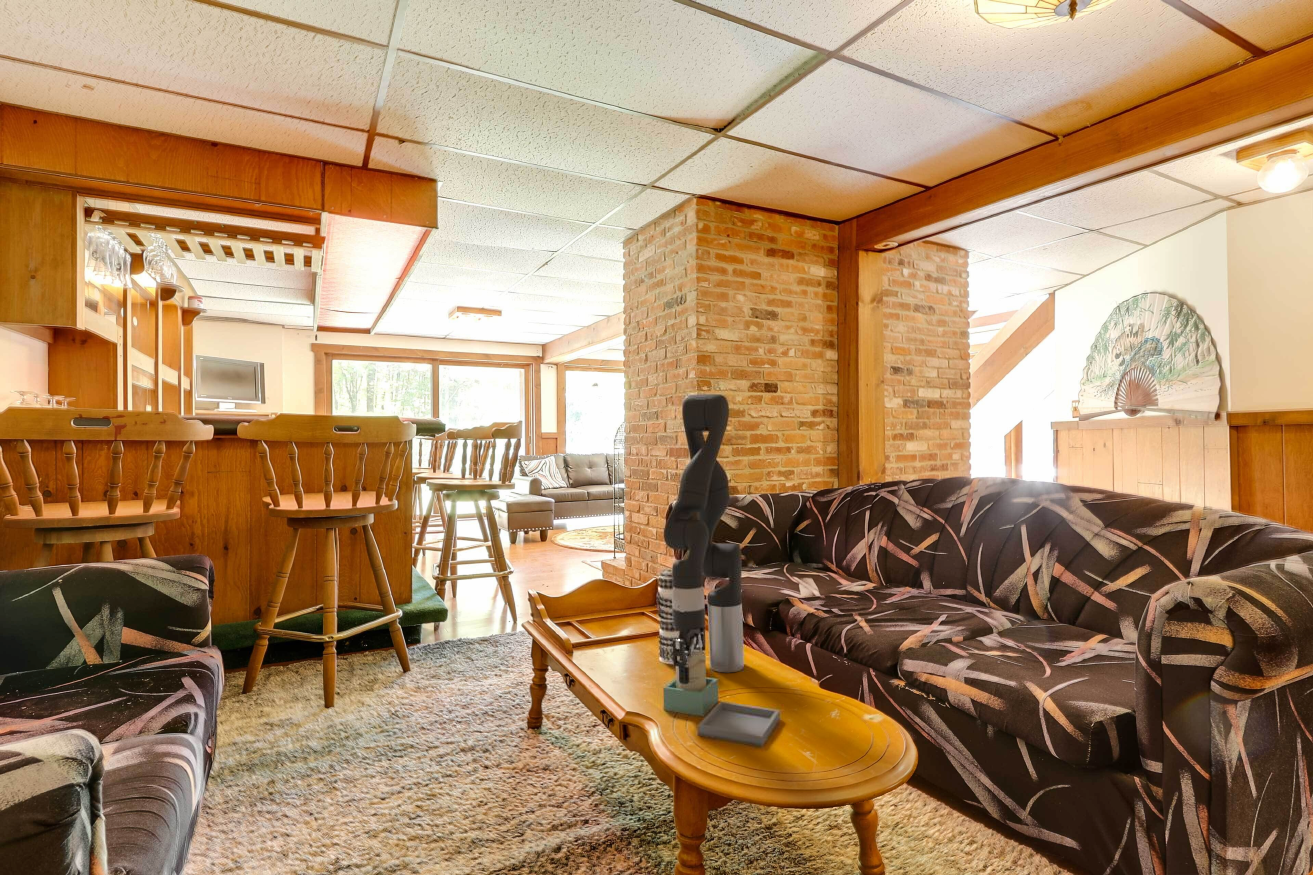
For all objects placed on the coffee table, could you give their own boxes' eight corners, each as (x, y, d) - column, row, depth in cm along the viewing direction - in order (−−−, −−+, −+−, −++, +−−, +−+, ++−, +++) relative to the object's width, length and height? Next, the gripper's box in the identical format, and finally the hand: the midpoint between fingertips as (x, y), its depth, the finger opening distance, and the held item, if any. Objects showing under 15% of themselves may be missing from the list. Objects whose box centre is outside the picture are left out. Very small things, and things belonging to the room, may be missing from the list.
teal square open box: (680, 694, 151) (680, 673, 151) (718, 700, 147) (717, 678, 147) (663, 709, 143) (663, 687, 143) (703, 716, 139) (702, 693, 139)
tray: (720, 710, 142) (720, 701, 142) (780, 719, 136) (779, 710, 136) (697, 735, 129) (697, 725, 129) (762, 746, 123) (761, 736, 123)
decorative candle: (691, 653, 182) (688, 567, 182) (689, 664, 172) (687, 573, 173) (659, 653, 183) (657, 567, 183) (656, 664, 173) (654, 573, 174)
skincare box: (681, 710, 142) (679, 656, 142) (675, 703, 146) (674, 650, 146) (707, 706, 144) (706, 653, 144) (701, 699, 148) (699, 647, 148)
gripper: (685, 597, 154) (687, 665, 153) (660, 611, 141) (662, 686, 140) (714, 599, 150) (716, 669, 150) (691, 614, 137) (693, 690, 137)
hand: (690, 677), depth 145 cm, fingers closed on skincare box, 7 cm apart
